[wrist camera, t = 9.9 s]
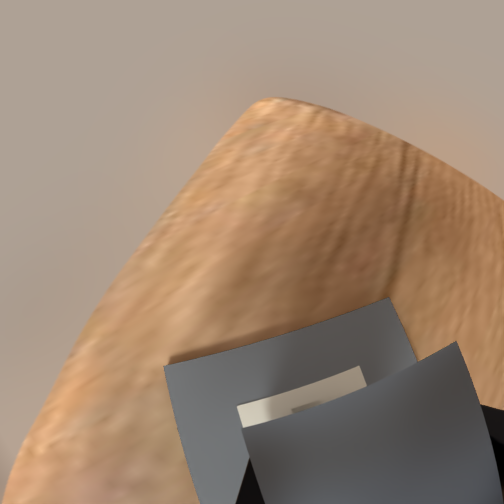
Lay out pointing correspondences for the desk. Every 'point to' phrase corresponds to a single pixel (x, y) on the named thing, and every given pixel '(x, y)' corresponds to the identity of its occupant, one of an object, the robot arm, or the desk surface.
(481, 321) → the desk surface
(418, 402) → the grey rectangular block
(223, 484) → the board
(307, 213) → the desk surface
